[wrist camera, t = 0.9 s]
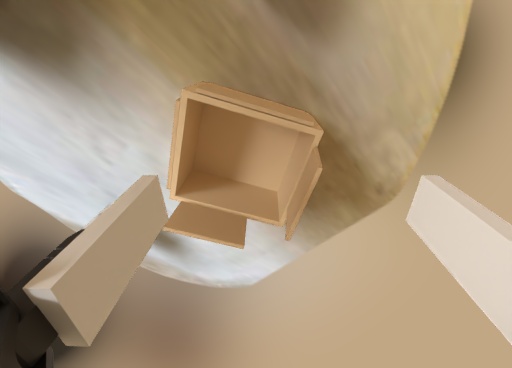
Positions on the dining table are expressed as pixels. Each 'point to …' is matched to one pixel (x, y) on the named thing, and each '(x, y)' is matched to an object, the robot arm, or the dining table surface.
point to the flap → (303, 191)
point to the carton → (238, 152)
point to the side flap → (208, 224)
